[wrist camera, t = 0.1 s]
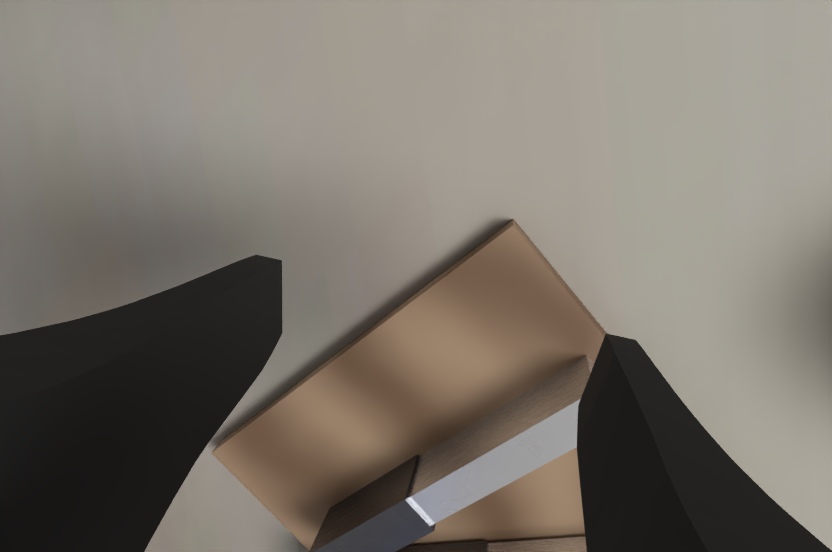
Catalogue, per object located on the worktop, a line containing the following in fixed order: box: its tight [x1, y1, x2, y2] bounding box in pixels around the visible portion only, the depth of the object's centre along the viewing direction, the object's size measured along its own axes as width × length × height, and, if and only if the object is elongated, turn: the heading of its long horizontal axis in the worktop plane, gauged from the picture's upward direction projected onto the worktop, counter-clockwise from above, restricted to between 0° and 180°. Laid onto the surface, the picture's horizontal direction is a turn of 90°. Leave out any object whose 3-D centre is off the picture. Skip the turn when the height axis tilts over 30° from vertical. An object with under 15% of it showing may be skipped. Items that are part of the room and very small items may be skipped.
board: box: [212, 219, 607, 551], centre depth 25 cm, size 19×18×1 cm
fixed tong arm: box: [309, 355, 594, 552], centre depth 23 cm, size 15×2×3 cm, turn 132°
